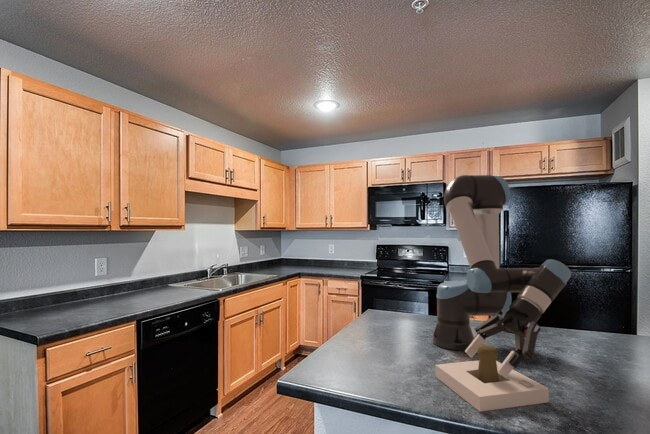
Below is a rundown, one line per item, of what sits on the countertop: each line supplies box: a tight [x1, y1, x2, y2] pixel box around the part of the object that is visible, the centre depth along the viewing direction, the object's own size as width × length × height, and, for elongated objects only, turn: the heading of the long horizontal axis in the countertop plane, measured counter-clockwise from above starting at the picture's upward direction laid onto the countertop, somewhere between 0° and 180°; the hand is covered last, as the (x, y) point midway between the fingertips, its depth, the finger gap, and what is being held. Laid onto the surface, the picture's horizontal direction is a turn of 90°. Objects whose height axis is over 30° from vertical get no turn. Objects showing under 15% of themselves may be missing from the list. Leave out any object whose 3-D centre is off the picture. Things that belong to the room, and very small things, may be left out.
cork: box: [476, 344, 499, 383], centre depth 95 cm, size 6×6×11 cm
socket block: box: [434, 360, 550, 413], centre depth 95 cm, size 20×20×4 cm
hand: (483, 363), depth 95 cm, fingers open, 13 cm apart
